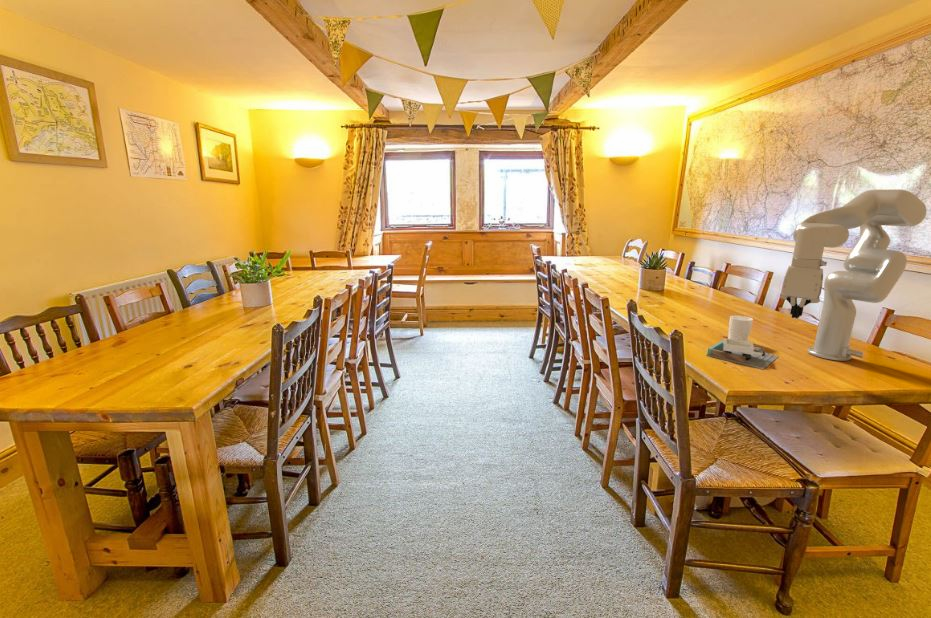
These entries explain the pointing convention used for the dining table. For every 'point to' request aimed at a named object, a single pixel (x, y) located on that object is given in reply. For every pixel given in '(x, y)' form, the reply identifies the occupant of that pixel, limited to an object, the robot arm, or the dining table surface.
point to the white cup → (739, 327)
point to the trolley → (741, 348)
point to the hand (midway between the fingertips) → (795, 317)
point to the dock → (741, 357)
